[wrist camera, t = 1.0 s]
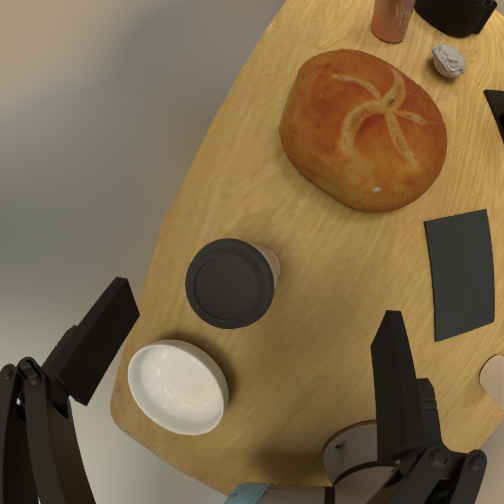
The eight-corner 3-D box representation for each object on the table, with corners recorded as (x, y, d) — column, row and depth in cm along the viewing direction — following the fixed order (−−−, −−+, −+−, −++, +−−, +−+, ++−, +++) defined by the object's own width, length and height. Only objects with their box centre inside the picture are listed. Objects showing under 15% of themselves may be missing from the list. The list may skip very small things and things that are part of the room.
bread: (418, 75, 31) (436, 41, 22) (439, 217, 33) (472, 212, 23) (280, 69, 37) (268, 31, 27) (284, 213, 38) (272, 206, 29)
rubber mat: (492, 320, 31) (494, 321, 30) (434, 340, 34) (436, 342, 33) (484, 209, 31) (486, 209, 30) (423, 221, 34) (425, 221, 33)
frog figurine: (417, 59, 31) (428, 37, 24) (445, 55, 29) (457, 34, 23) (437, 88, 31) (451, 68, 24) (464, 82, 29) (480, 64, 22)
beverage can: (394, 21, 31) (408, -33, 16) (408, 44, 31) (428, -11, 16) (365, 22, 32) (372, -37, 18) (378, 44, 32) (391, -15, 18)
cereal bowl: (218, 428, 43) (204, 451, 36) (142, 384, 46) (121, 400, 39) (253, 360, 41) (240, 381, 34) (162, 312, 44) (137, 323, 37)
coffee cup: (214, 261, 41) (160, 275, 27) (263, 224, 39) (229, 218, 24) (250, 312, 40) (213, 352, 26) (301, 277, 38) (290, 302, 24)
